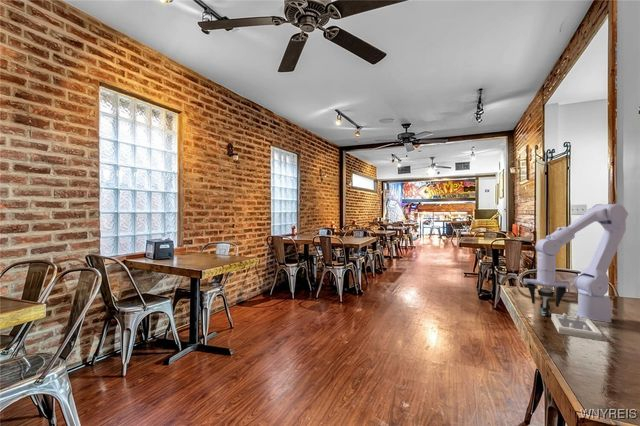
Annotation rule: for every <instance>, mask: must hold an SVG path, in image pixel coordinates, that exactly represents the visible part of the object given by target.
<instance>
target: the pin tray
mask: <svg viewBox="0 0 640 426" xmlns="http://www.w3.org/2000/svg"><path fill="white" fill-rule="evenodd" d="M550 315H551V316H550V318H551V321H552V323H553V325H554V327H555V329H556V331H557V332H558V334H560V335H567V336H572V337H578V338H584V339H591V340H596V341H602V340H603V333H602V332H601V331H600V330H599V329H598V327H597V326H596V325H595V324H594V323H593V321H591V319H587V318H580V316H579V315H576V314H575V316H571V315H568V314H567V313H565V312H563V313H562V314H557V313H553V312H550Z"/></svg>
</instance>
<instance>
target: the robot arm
mask: <svg viewBox="0 0 640 426" xmlns="http://www.w3.org/2000/svg"><path fill="white" fill-rule="evenodd" d="M628 215H629V213H628V210H627V209H626V208H625V207H624V206H623V205H622V204H620V203H613V204H611V203H610V204H609V203H607V204H606V203H605V204H603V203H597V204H594V205H592V207H590V208H588V209H587V210H586V212H584V213H583V214H582V215H580V216H579V217H578V218H577V219H575V220H574V221H573V222H571V223H570V224H569V225H568V226H560V227H559V226H558V227H557V228H556V230H555V231H554V232H552V233H550V234H548V235H546V236H545V238H541V239H538V241H537V242H536V244H535V245H534V248H535V250H536V252H537V269H536V271H537V273H536V276H537V277H536V278H523V284H524V285H526V287H527V289H528V292H529V294H530V297H531V303H532V304H533V305H535V304H536V301H535V293H536V292H535V291H536V287H535V286H540V287H541V286H542V287H547V288H548V287H550V288H555V292H556V293H555V307H557V308H559V307H560V303H561V300H562V298H563V296H564V295H565V294H566V292H567V290H570V283H569V282H562V281H556V267H557V266H556V263H557V262H556V260H557V259H556V258H557V254H559V252H560V251H561V248H562V247H564V246H565V245H566V244H568V243H569V242H571V241H572V240H573V239H575V236H576V234H577V233H579V231H581V230H583V229H584V228H586V227H588V226H589V225H590V226H591V224H593V223H595V222H597V223H598V224H599V225H600V226H601V227H602V228H603V230H604V232H603V234H602V236H601V238H600V241H599V243H598V244H597V247H596V250H595V251H594V253H593V255H592V259H591V260H590V263H589V264H588V267H586V268H584V269H582V270H581V272H580V273H579V275H577V276H576V277H575V279H574V286H575V288H577V293H578V296H577V297H578V299H577V310H576V311H575V310H574V313H575V315H579V316H580V318H587V319H590V321H591V320H592V321H599V322H605V323H612V320H611V317H612V301H611V297H609V296H607V295H606V294H607V293H608V292H609V283H610V280H611V279H610V278H609V276H608V274H607V272H608V270H609V268H610V265H611V263H612V262H613V259H614V257H615V255H616V252H617V251H618V249H619V247H620V246H619V245H620V243H621V242H622V239H623V237H624V235H625V233H626V229H627V228H626V224H627V223H626V220H627V218H628Z"/></svg>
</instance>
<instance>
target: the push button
mask: <svg viewBox="0 0 640 426" xmlns="http://www.w3.org/2000/svg"><path fill="white" fill-rule="evenodd" d="M537 293H538V296H540V297H542V301H541V303H540V310H539V313H540V315H541V316H544V317H547V316H550V315H551V305H549V304H550V303H549V299H550V298H553V297H554V294H555V292H554V291H552V289H550V288H548V287H540V289H537Z"/></svg>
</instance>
